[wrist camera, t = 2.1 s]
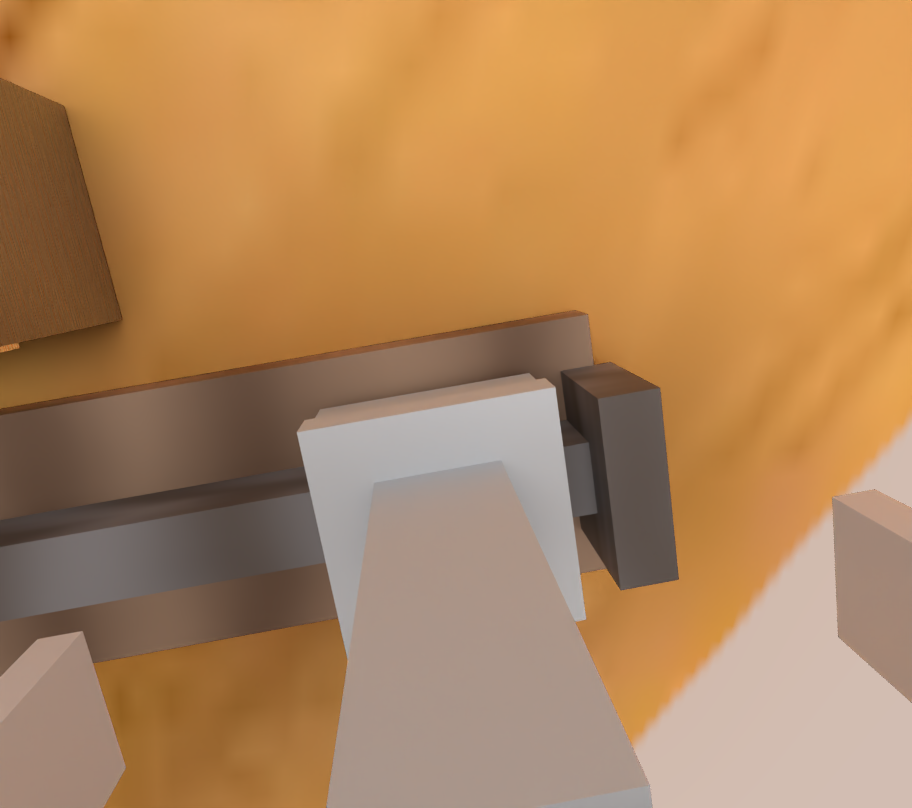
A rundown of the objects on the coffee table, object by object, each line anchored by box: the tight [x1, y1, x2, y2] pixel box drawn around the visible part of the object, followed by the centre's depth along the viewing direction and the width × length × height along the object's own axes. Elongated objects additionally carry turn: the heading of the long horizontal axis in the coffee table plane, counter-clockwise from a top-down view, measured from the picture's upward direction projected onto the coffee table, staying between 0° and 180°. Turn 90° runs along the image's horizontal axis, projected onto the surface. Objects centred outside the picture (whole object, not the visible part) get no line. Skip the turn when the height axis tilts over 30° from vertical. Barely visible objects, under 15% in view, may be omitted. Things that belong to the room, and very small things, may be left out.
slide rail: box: [0, 310, 679, 677], centre depth 19 cm, size 23×8×6 cm, turn 99°
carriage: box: [297, 373, 652, 808], centre depth 13 cm, size 6×6×14 cm
